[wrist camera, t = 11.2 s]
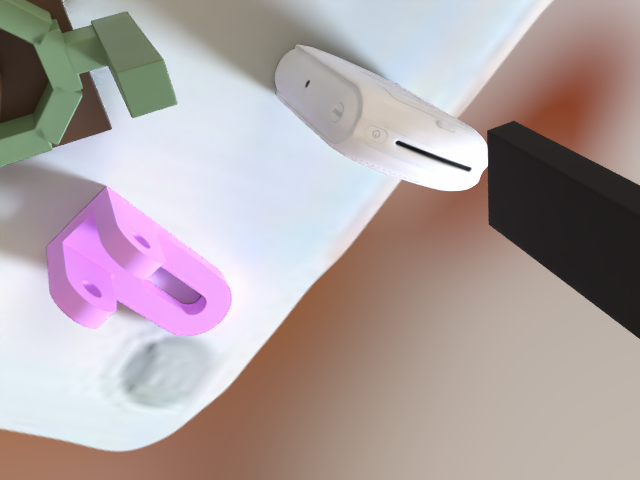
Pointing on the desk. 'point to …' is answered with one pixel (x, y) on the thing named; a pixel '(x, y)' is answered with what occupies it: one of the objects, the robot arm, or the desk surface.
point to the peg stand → (44, 82)
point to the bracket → (130, 270)
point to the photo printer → (379, 121)
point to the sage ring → (73, 59)
